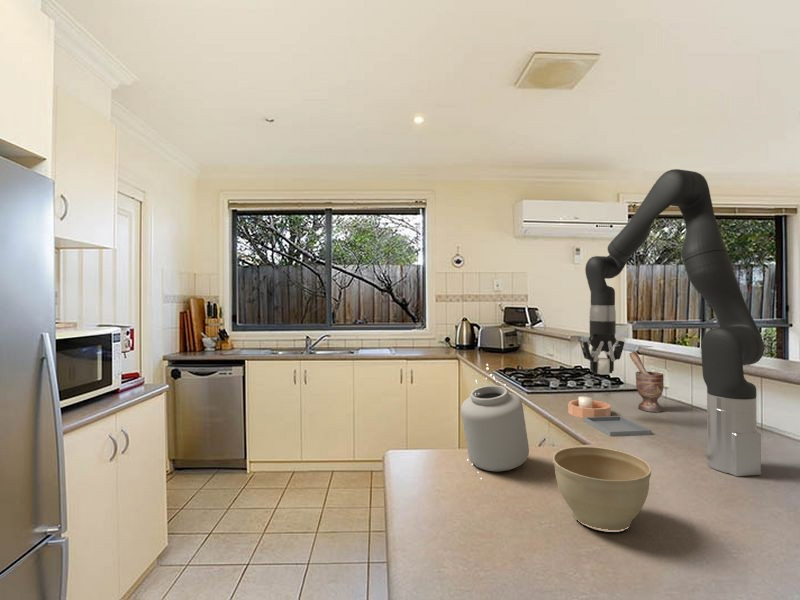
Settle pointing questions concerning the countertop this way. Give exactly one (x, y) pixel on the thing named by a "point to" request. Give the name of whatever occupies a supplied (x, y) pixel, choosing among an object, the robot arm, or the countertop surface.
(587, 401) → the cream rounded lump
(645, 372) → the mortar and pestle
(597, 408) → the bowl
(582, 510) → the planter bowl
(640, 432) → the tray
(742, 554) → the countertop surface
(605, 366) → the cream rounded piece
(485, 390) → the jar
